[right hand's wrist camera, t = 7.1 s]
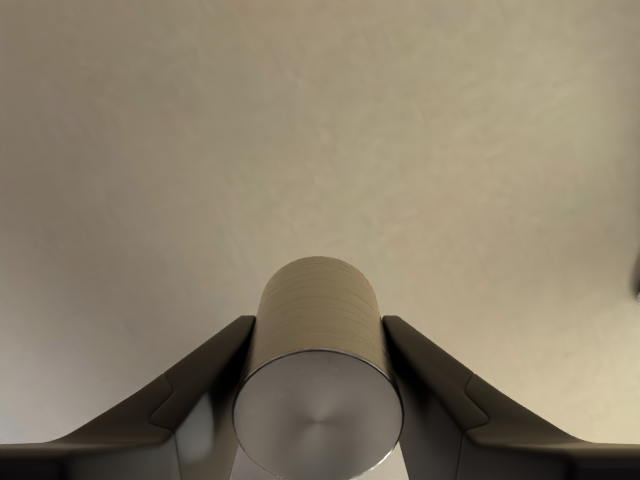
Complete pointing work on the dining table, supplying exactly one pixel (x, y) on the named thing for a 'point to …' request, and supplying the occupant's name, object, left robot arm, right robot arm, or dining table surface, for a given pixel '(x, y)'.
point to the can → (318, 376)
